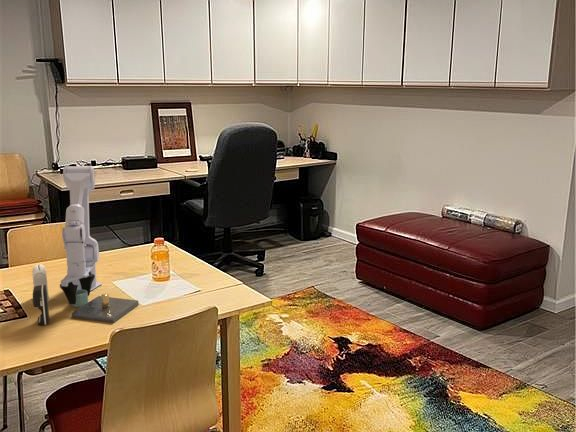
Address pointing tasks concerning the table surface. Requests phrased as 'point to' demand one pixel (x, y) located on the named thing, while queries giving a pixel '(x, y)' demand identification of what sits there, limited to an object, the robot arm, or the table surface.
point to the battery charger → (41, 303)
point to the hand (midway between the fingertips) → (79, 299)
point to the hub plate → (105, 309)
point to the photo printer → (40, 277)
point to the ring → (81, 298)
